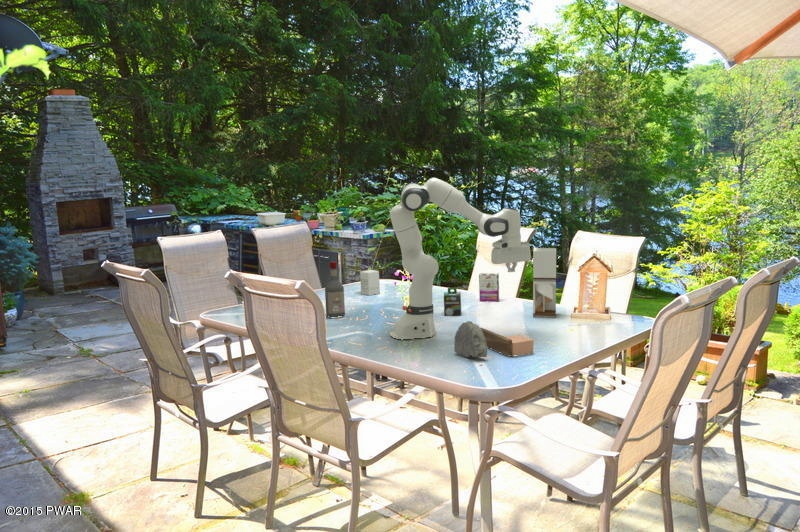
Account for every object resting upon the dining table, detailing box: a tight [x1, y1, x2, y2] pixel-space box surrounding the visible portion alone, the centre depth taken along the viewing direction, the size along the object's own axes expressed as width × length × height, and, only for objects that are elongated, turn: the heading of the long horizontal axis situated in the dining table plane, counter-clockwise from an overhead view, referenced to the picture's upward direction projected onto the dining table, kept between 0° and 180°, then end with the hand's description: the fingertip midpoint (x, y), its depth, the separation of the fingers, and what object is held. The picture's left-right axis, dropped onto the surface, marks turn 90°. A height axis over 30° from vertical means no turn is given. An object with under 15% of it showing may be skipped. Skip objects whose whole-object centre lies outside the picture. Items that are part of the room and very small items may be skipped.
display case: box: [532, 247, 557, 319], centre depth 328 cm, size 11×11×35 cm
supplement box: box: [359, 269, 381, 296], centre depth 402 cm, size 9×9×15 cm
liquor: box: [324, 261, 346, 318], centre depth 341 cm, size 9×9×30 cm
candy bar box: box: [478, 272, 500, 302], centre depth 370 cm, size 11×5×16 cm, turn 73°
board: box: [480, 327, 512, 357], centre depth 272 cm, size 2×24×7 cm, turn 25°
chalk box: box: [443, 287, 462, 317], centre depth 340 cm, size 9×9×15 cm
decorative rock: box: [453, 320, 488, 359], centre depth 262 cm, size 16×7×15 cm, turn 33°
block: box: [505, 334, 534, 357], centre depth 267 cm, size 10×10×6 cm
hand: (511, 271), depth 295 cm, fingers closed
